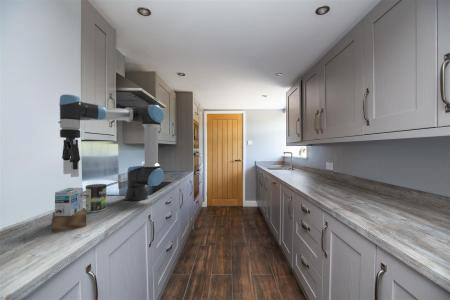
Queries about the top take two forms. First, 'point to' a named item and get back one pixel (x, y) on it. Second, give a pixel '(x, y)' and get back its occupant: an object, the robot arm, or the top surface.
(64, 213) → the light bulb box
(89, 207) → the coffee can
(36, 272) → the top surface
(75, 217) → the block
